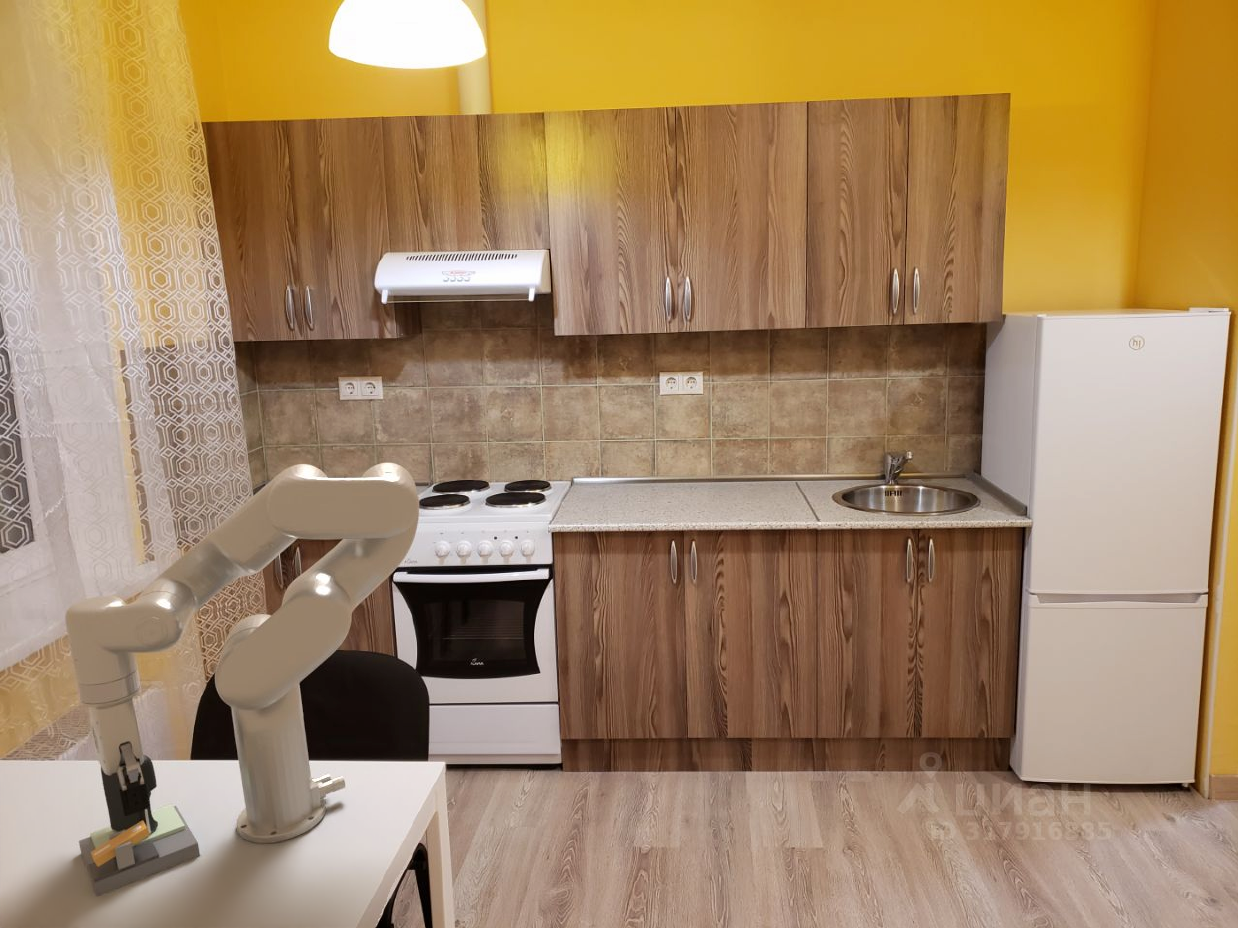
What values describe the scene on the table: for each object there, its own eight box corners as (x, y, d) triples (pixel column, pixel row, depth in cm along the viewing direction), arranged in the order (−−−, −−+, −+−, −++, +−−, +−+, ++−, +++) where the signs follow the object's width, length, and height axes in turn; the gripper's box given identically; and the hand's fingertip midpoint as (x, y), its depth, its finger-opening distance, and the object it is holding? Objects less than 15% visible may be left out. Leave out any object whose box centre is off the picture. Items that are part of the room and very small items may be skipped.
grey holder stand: (177, 817, 141) (172, 784, 140) (199, 855, 132) (194, 819, 131) (81, 853, 134) (74, 818, 133) (97, 895, 124) (89, 858, 123)
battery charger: (167, 824, 135) (156, 751, 133) (145, 839, 132) (134, 765, 129) (131, 816, 138) (119, 745, 135) (109, 830, 134) (96, 758, 132)
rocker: (146, 826, 130) (142, 819, 130) (150, 834, 128) (146, 827, 128) (94, 858, 126) (90, 851, 126) (97, 866, 124) (93, 859, 124)
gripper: (68, 674, 134) (89, 782, 138) (90, 715, 121) (111, 834, 124) (126, 659, 138) (144, 764, 142) (153, 697, 125) (172, 812, 129)
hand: (129, 796), depth 133 cm, fingers open, 9 cm apart
